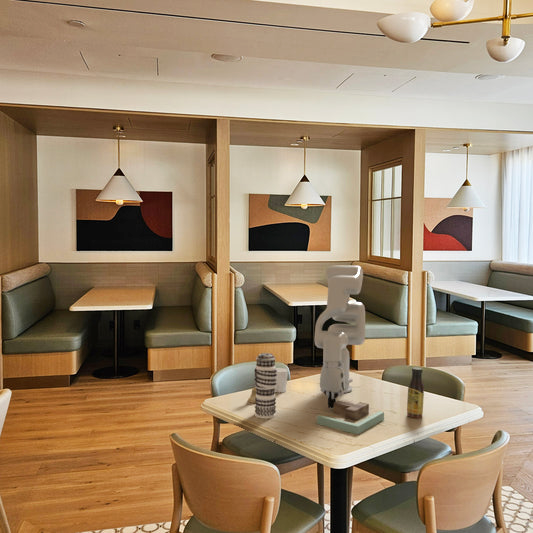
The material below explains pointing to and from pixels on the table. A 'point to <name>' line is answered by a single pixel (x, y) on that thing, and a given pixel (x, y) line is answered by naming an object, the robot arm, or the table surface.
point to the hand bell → (253, 395)
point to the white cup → (281, 380)
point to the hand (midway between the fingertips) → (331, 407)
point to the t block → (351, 409)
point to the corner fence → (349, 426)
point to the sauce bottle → (415, 394)
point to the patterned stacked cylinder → (265, 386)
